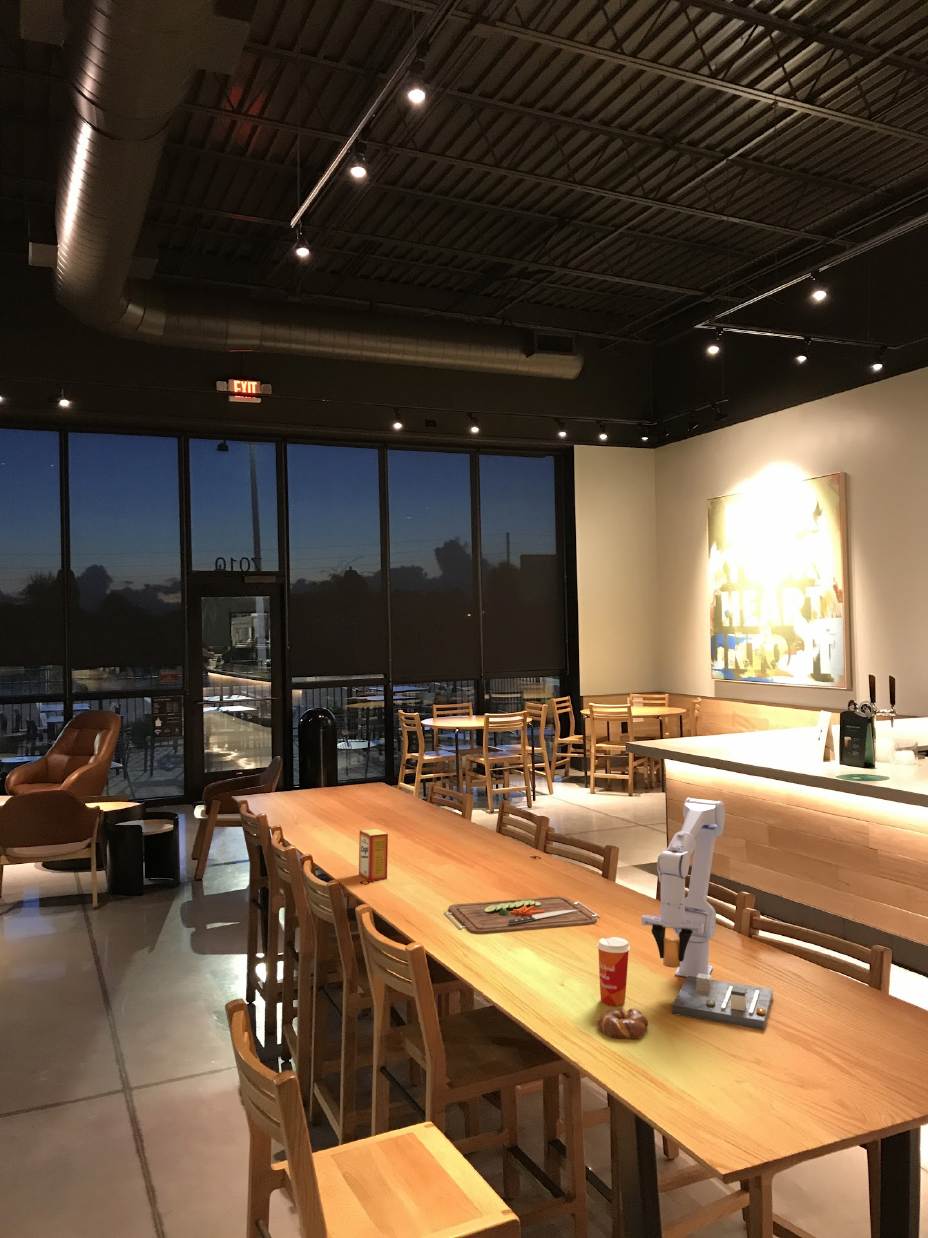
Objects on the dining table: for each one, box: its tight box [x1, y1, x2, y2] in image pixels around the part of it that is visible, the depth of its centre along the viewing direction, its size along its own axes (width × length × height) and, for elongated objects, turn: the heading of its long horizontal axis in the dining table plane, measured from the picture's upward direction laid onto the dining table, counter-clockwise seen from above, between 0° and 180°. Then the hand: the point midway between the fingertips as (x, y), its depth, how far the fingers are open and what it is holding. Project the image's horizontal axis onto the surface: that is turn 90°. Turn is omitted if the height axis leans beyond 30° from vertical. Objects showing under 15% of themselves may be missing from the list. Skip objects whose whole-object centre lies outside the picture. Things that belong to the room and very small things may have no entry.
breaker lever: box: [731, 986, 746, 1011], centre depth 211 cm, size 3×3×4 cm
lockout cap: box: [662, 936, 680, 969], centre depth 224 cm, size 4×4×6 cm
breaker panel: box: [671, 973, 774, 1031], centre depth 217 cm, size 20×20×5 cm
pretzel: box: [597, 1008, 649, 1040], centre depth 204 cm, size 12×11×4 cm
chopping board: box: [443, 896, 601, 935], centre depth 284 cm, size 45×27×3 cm, turn 108°
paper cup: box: [596, 936, 631, 1007], centre depth 219 cm, size 8×8×14 cm
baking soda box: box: [358, 828, 389, 882], centre depth 325 cm, size 10×6×16 cm
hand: (671, 958), depth 224 cm, fingers closed on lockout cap, 4 cm apart
